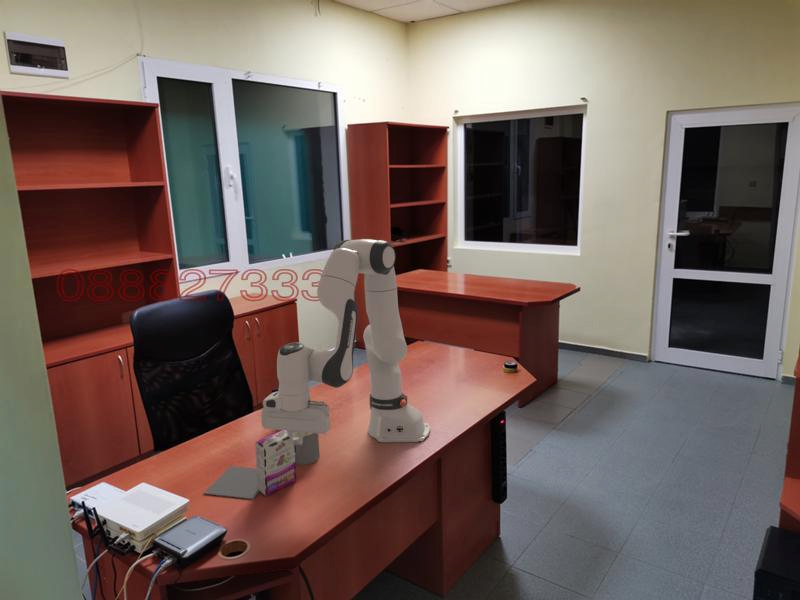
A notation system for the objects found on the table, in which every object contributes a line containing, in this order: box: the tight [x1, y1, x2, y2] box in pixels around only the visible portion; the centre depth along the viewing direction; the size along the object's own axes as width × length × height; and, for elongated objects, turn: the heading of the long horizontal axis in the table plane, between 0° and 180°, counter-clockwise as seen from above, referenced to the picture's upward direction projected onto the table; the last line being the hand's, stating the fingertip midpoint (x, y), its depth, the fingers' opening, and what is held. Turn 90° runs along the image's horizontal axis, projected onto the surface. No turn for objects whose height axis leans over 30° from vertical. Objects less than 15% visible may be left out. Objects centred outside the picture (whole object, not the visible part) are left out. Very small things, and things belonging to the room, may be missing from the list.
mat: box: [203, 465, 261, 501], centre depth 172 cm, size 16×16×1 cm
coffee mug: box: [293, 431, 320, 466], centre depth 187 cm, size 13×10×10 cm
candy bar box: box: [255, 430, 297, 497], centre depth 167 cm, size 11×5×16 cm, turn 138°
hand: (297, 443), depth 164 cm, fingers closed
